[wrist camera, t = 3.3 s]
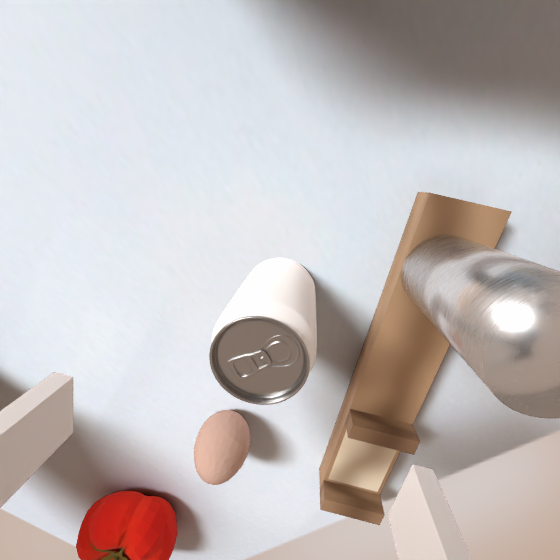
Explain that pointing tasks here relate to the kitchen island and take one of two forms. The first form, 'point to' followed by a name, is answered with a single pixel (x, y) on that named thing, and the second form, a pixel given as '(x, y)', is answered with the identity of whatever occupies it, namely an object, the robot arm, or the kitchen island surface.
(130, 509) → the tomato
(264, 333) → the can
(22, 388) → the kitchen island surface
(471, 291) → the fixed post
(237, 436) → the egg
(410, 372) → the rail
